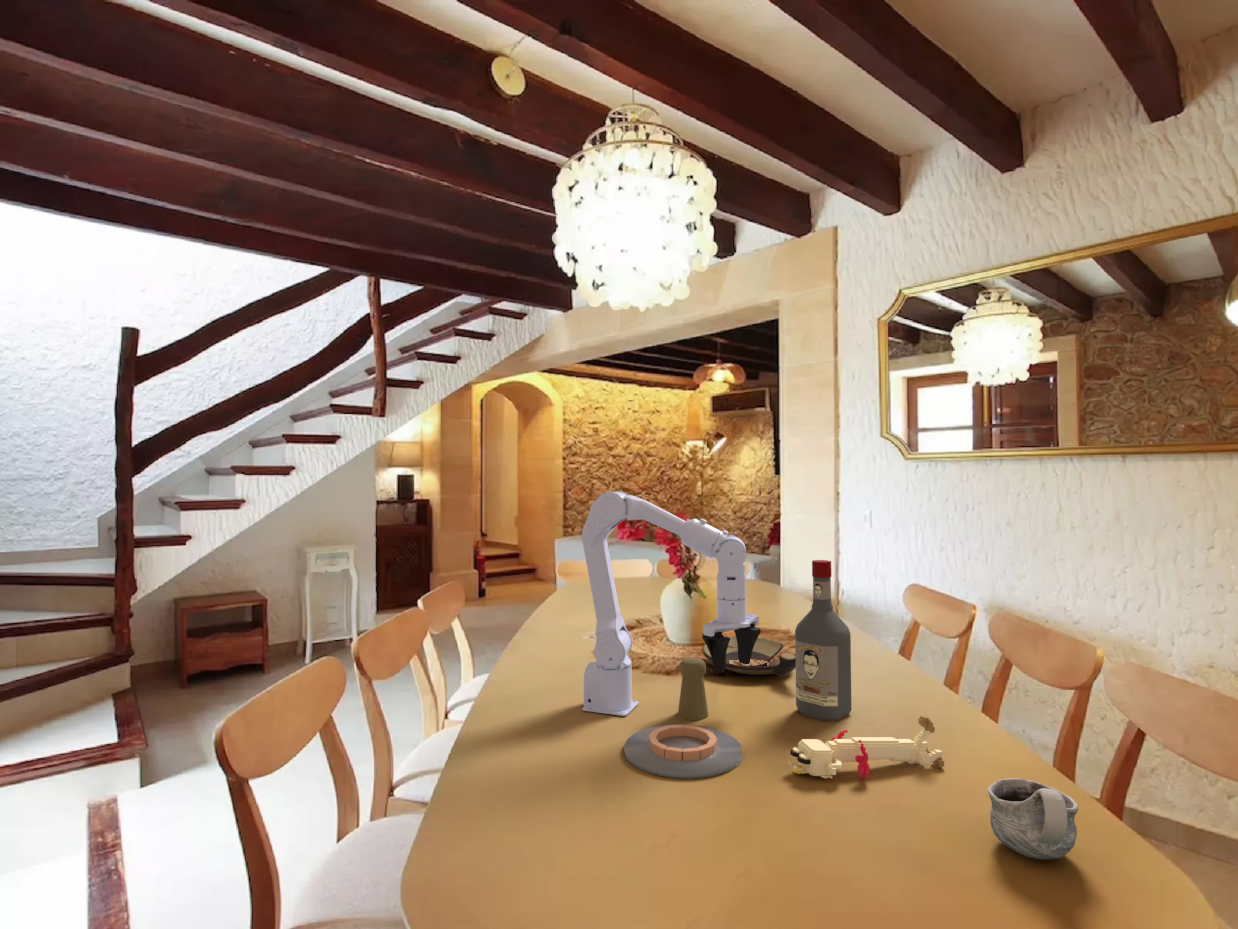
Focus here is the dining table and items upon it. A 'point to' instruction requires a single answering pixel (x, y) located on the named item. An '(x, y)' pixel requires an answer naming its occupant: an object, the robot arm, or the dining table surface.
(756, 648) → the oil lamp
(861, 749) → the cream toy figure
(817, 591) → the liquor
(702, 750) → the ring platter
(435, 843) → the dining table surface
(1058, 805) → the mug
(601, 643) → the robot arm
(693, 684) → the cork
